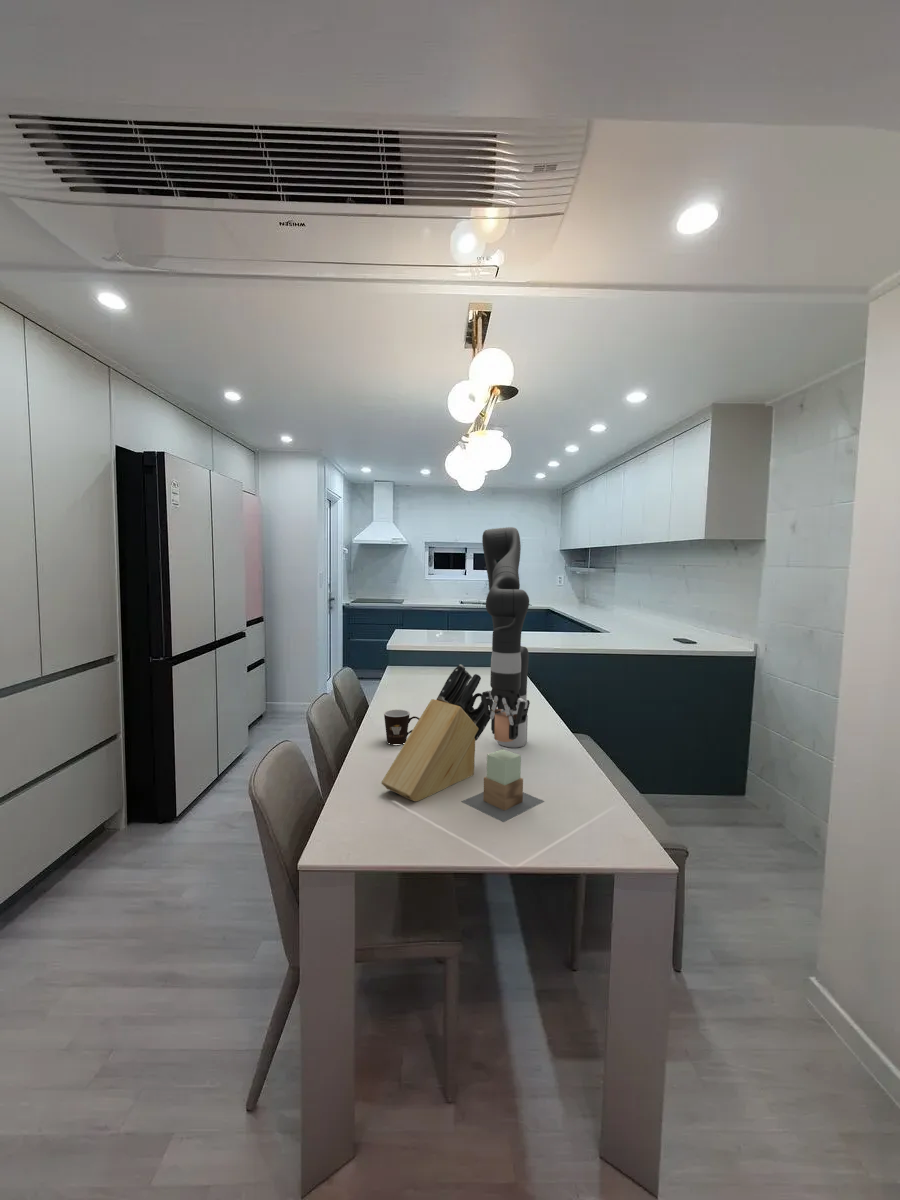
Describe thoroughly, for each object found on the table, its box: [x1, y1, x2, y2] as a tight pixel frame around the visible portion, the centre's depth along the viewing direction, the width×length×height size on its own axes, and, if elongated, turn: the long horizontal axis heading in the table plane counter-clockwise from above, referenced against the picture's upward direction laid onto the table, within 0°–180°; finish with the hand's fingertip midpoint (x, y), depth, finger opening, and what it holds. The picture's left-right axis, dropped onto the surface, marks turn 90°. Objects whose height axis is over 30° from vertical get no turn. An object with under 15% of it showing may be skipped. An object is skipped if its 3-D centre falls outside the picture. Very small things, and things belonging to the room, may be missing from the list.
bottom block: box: [483, 776, 524, 811], centre depth 131 cm, size 7×7×6 cm
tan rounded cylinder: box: [493, 712, 514, 742], centre depth 130 cm, size 5×5×6 cm
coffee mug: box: [383, 709, 420, 745], centre depth 174 cm, size 12×9×10 cm
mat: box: [460, 791, 545, 823], centre depth 131 cm, size 16×14×1 cm
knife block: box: [380, 664, 491, 803], centre depth 144 cm, size 11×35×31 cm, turn 139°
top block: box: [486, 748, 522, 785], centre depth 130 cm, size 6×6×6 cm
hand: (504, 735), depth 130 cm, fingers closed on tan rounded cylinder, 5 cm apart
